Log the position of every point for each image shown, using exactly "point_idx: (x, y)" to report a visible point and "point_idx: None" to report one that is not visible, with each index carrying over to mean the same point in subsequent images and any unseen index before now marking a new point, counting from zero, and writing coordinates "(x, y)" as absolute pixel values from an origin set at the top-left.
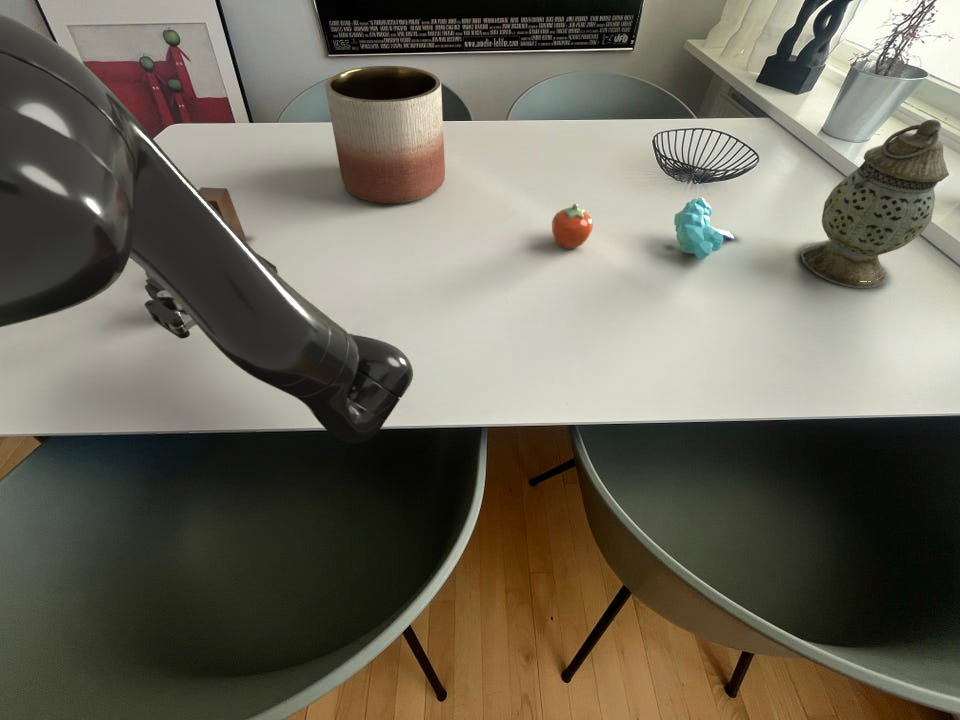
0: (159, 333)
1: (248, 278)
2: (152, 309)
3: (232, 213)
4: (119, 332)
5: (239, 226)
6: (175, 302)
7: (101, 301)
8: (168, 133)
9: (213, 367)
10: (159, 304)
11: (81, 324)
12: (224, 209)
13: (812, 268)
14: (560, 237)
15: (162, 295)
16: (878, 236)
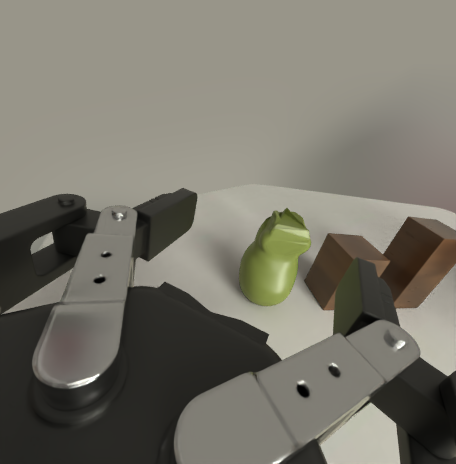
0: (209, 285)
1: None
2: (21, 209)
3: (441, 270)
4: (202, 251)
5: (429, 289)
6: (250, 277)
7: (241, 227)
8: (431, 207)
9: None
10: (49, 216)
11: (206, 225)
12: (439, 257)
13: None
14: None
15: (106, 214)
16: None
